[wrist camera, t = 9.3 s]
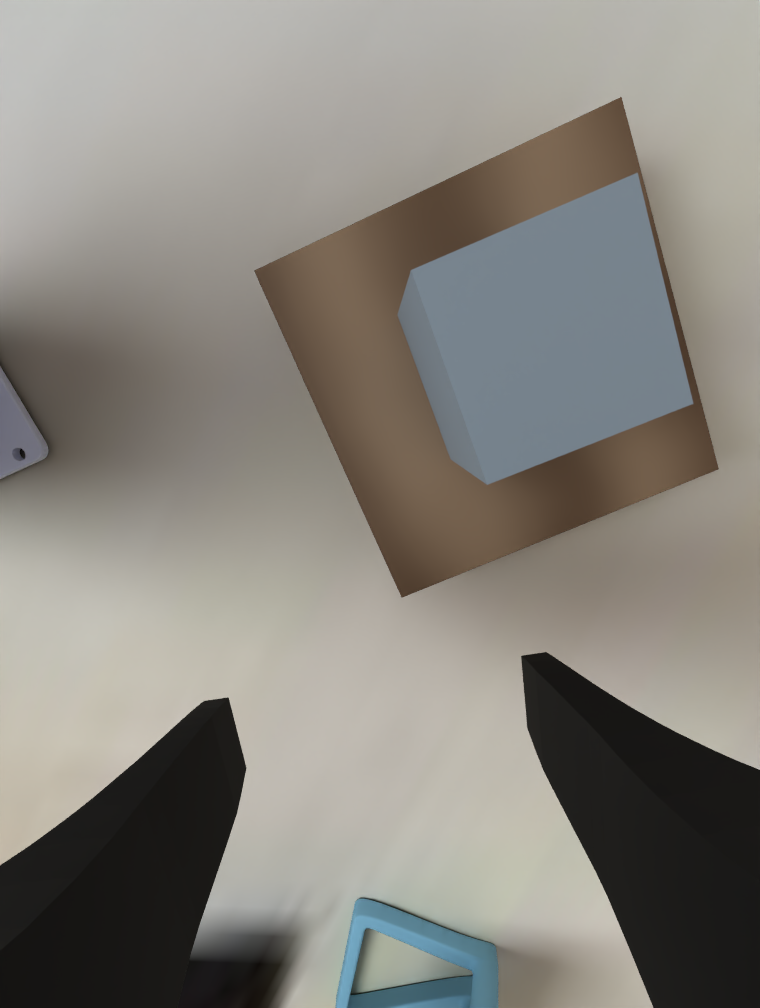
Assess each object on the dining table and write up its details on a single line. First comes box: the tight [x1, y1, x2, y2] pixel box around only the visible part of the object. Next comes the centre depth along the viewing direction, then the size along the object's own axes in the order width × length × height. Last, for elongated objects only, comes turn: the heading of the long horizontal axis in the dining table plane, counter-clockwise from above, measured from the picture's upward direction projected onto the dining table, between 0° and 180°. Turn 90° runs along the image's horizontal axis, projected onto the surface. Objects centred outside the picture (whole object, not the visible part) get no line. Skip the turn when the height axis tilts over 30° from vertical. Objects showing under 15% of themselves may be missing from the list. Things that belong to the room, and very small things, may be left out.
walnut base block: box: [255, 97, 719, 597], centre depth 17 cm, size 12×12×4 cm
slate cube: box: [397, 173, 693, 485], centre depth 12 cm, size 5×5×5 cm
